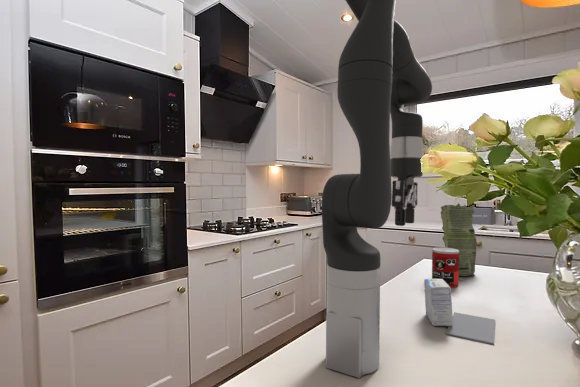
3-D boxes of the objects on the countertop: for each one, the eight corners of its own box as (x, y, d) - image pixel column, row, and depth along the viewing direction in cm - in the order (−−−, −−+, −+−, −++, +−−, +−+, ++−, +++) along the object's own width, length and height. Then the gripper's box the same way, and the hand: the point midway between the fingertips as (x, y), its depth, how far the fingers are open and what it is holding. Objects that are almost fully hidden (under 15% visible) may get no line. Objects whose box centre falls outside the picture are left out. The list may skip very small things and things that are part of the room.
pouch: (439, 274, 120) (440, 203, 120) (443, 267, 130) (444, 201, 130) (475, 279, 115) (476, 204, 114) (476, 271, 125) (477, 202, 124)
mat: (493, 344, 68) (493, 343, 68) (446, 334, 72) (446, 333, 72) (495, 320, 80) (495, 319, 80) (454, 313, 84) (454, 312, 84)
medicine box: (453, 327, 75) (451, 287, 75) (431, 326, 76) (430, 287, 76) (444, 314, 83) (443, 278, 83) (425, 313, 84) (423, 278, 84)
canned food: (427, 283, 109) (428, 249, 109) (438, 279, 115) (439, 246, 114) (452, 289, 104) (452, 253, 103) (462, 284, 109) (463, 249, 109)
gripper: (415, 153, 75) (413, 228, 75) (428, 159, 87) (427, 223, 87) (381, 155, 79) (380, 225, 79) (398, 160, 91) (397, 221, 91)
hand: (404, 224), depth 83 cm, fingers open, 8 cm apart
